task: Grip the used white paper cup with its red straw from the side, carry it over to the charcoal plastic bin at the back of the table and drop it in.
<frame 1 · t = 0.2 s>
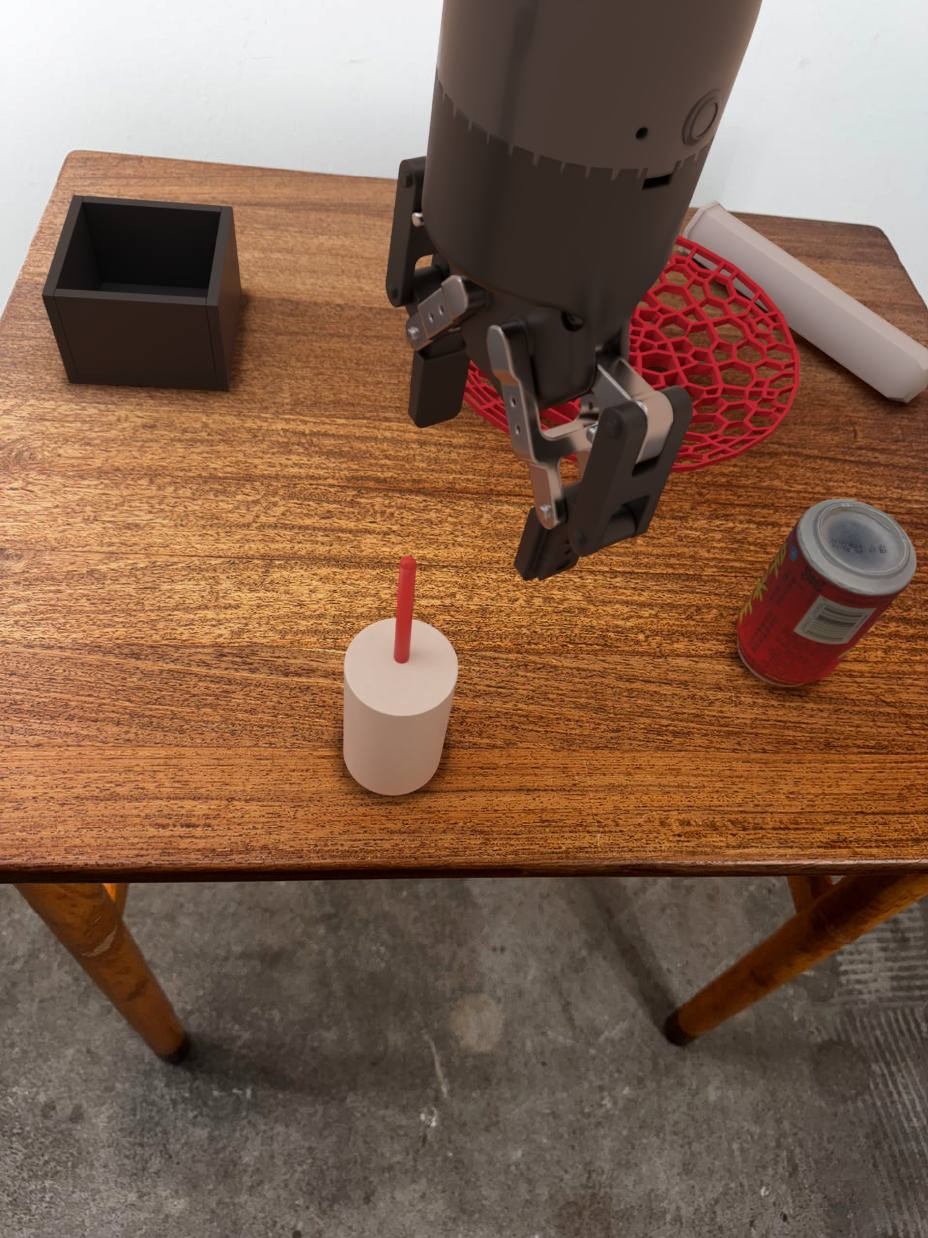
hand: (484, 489, 37), 23 cm above the table, tool pointing down, fingers open, 8 cm apart
tube: (794, 327, 82), on the table
paper cup: (392, 750, 55), on the table
bowl: (598, 378, 76), on the table
soda can: (776, 651, 62), on the table
bin: (160, 335, 72), on the table
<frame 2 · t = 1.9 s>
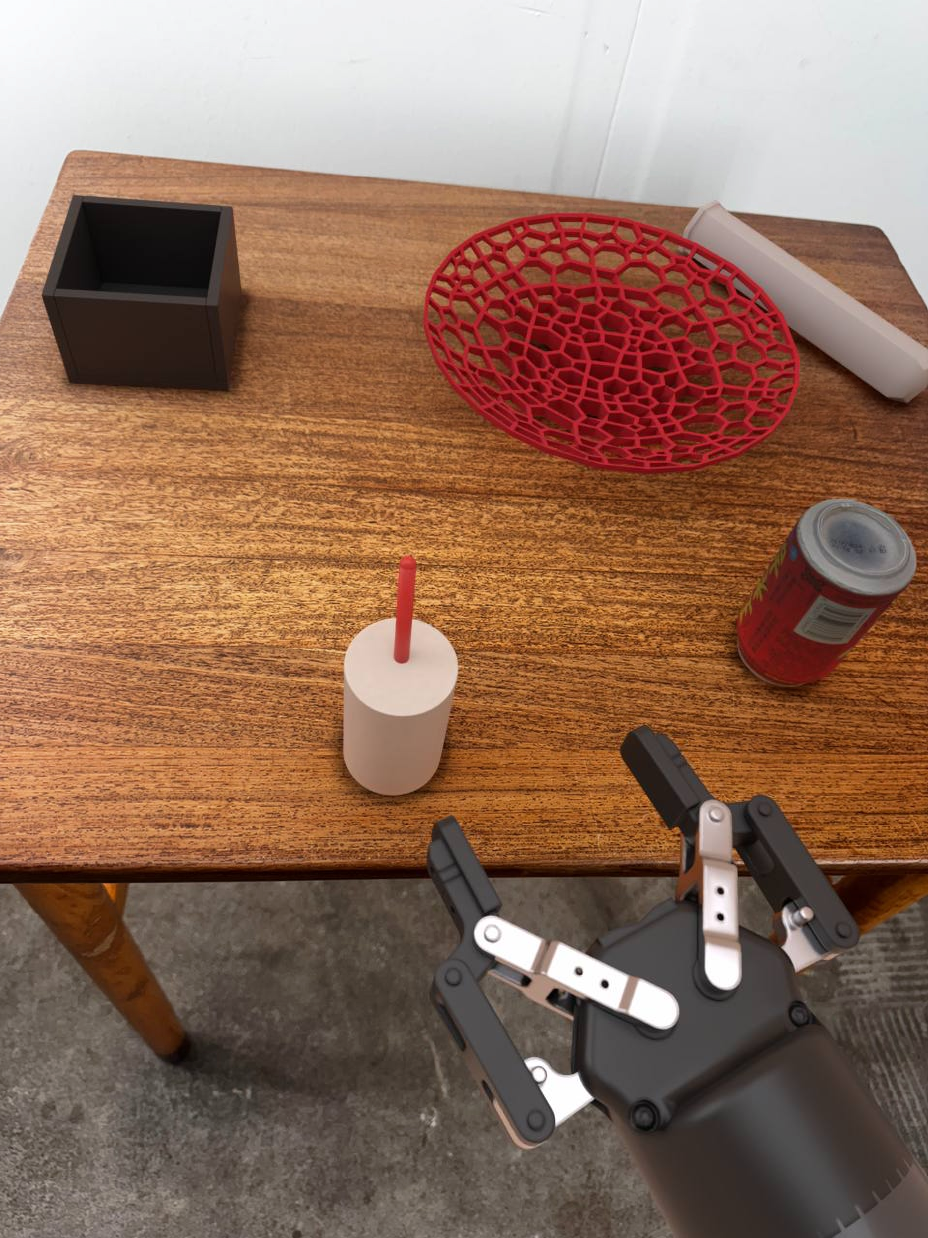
hand: (539, 779, 35), 18 cm above the table, tool horizontal, fingers open, 8 cm apart
nothing on the table moved.
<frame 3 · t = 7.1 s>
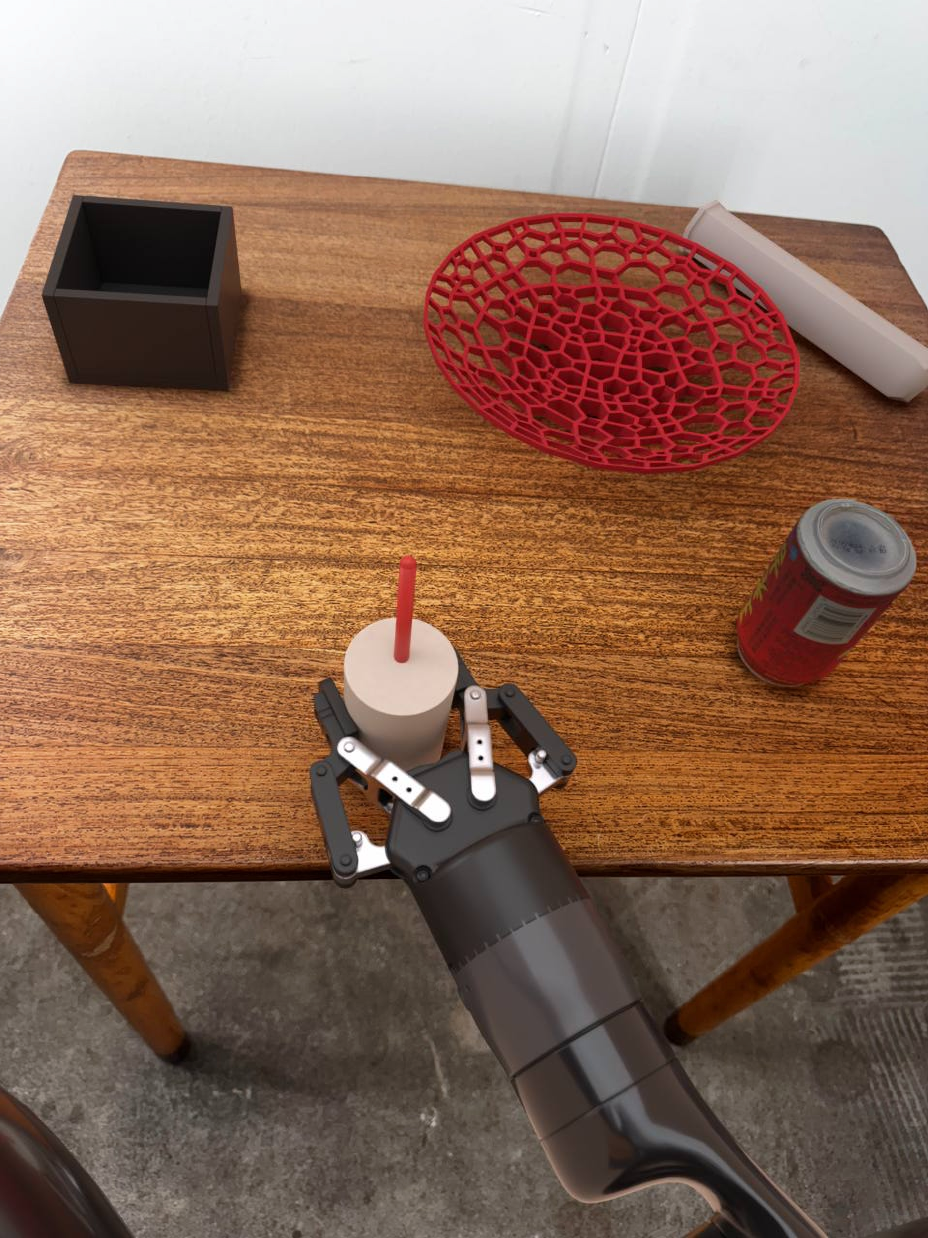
hand: (378, 666, 51), 6 cm above the table, tool horizontal, fingers closed on paper cup, 5 cm apart
paper cup: (392, 749, 55), on the table, touching gripper
everything else where it was.
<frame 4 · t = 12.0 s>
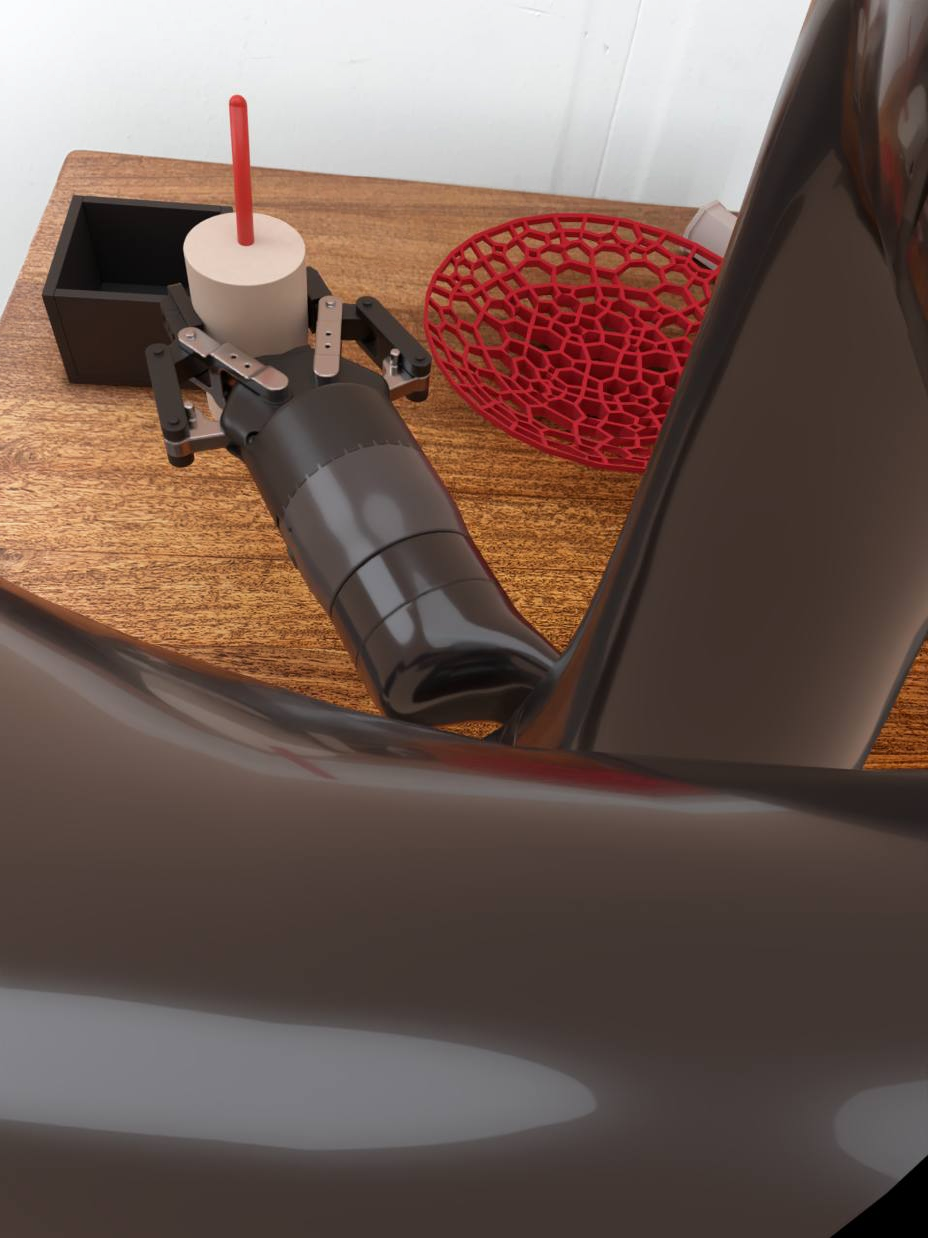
hand: (234, 286, 49), 18 cm above the table, tool horizontal, fingers closed on paper cup, 5 cm apart
paper cup: (260, 400, 53), point 12 cm above the table, touching gripper
everything else where it was.
when the fingers open (13 cm above the table, at t = 16.8 s): paper cup drops 6 cm, resting on bin.
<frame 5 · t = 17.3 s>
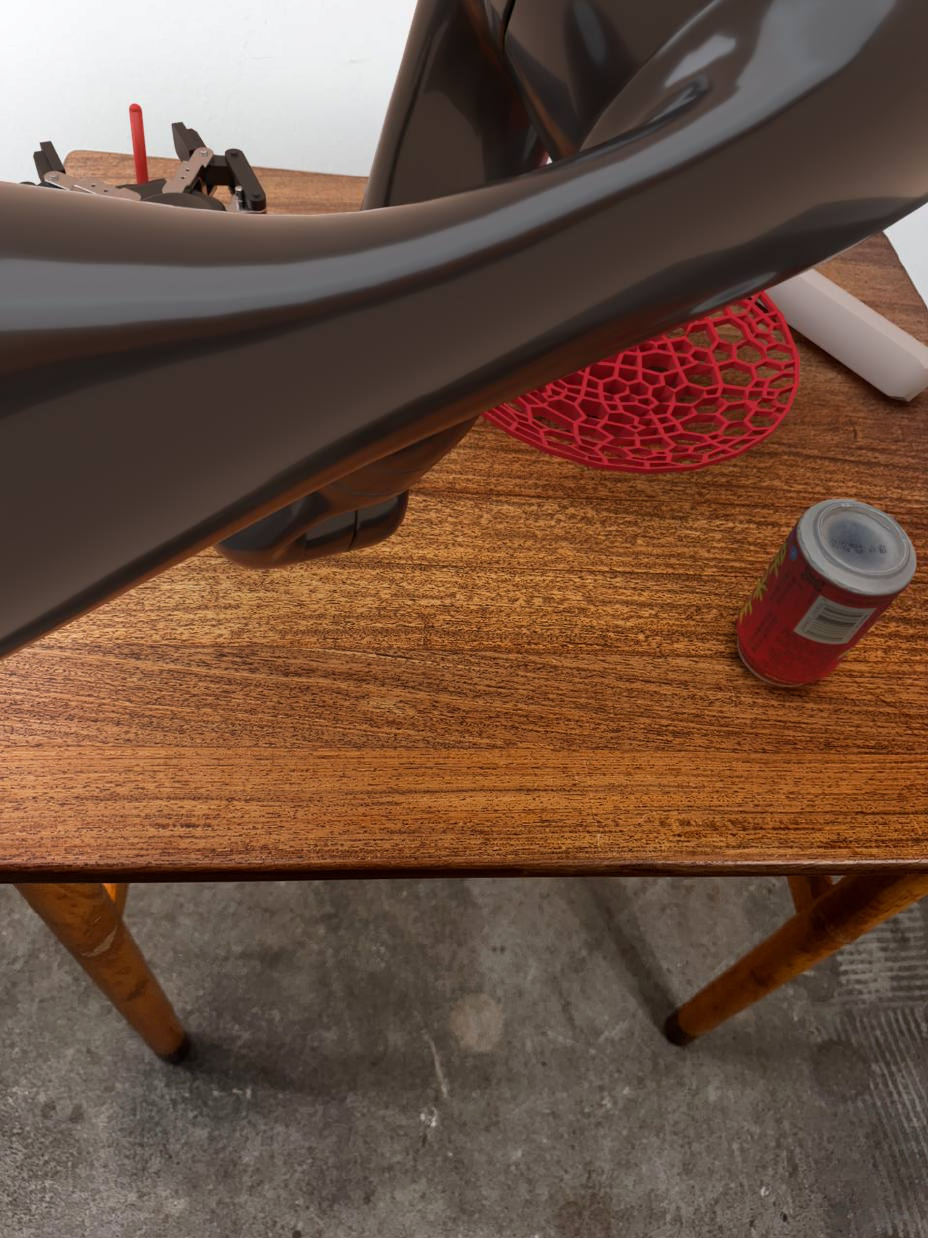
hand: (114, 144, 61), 14 cm above the table, tool horizontal, fingers open, 8 cm apart
paper cup: (162, 325, 72), point 1 cm above the table, touching bin
everything else where it was.
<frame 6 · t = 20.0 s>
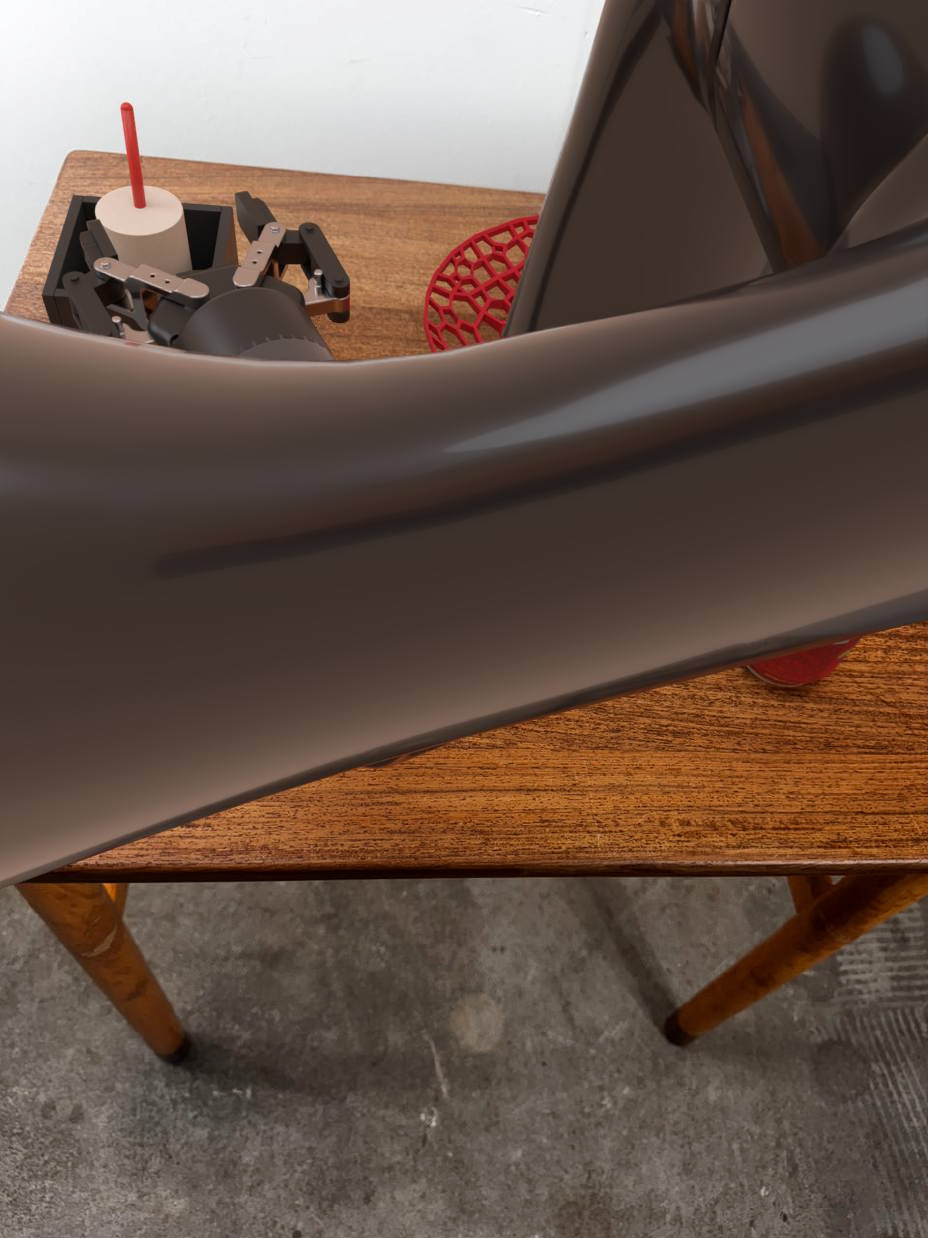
hand: (170, 219, 53), 17 cm above the table, tool horizontal, fingers open, 8 cm apart
nothing on the table moved.
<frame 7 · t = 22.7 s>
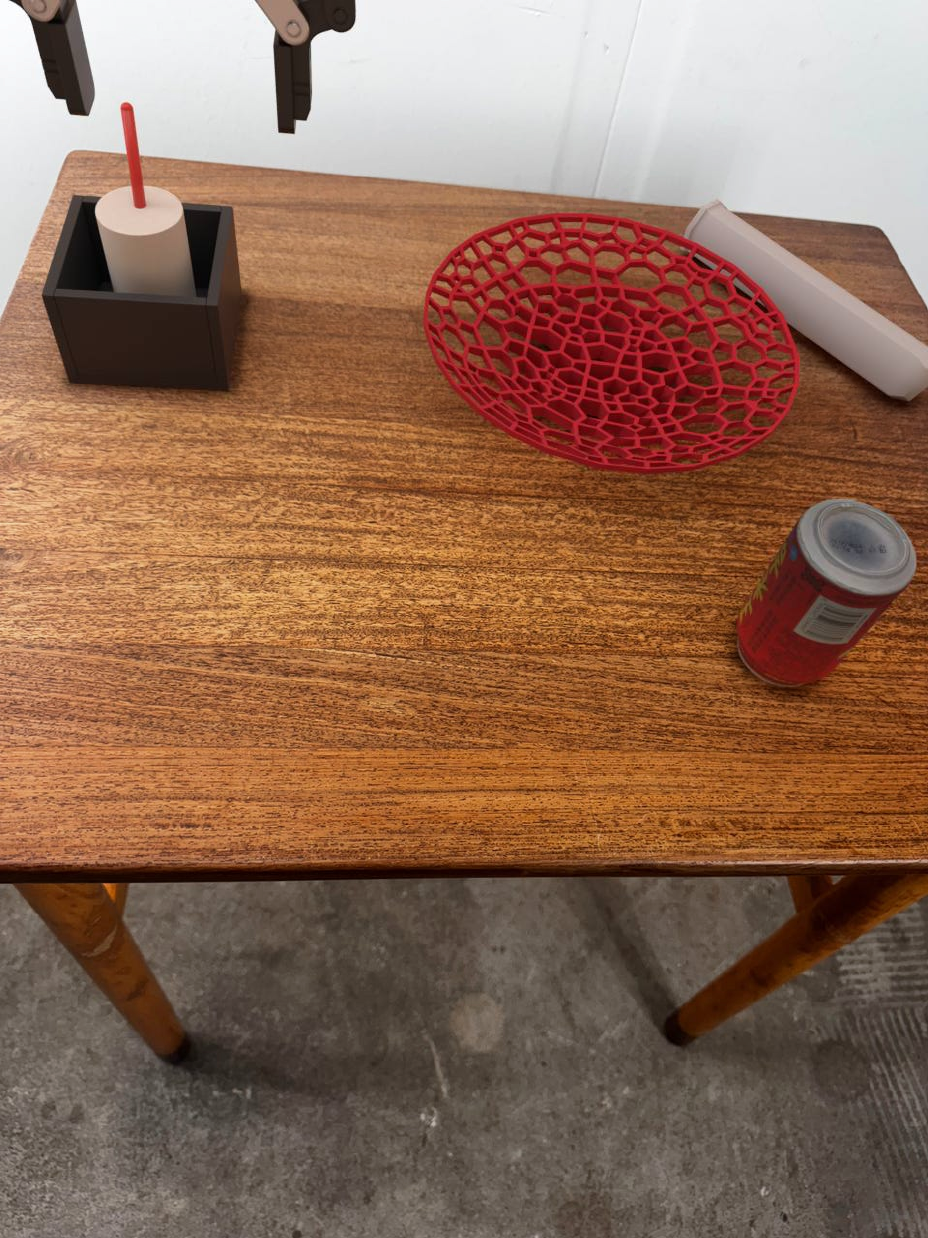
hand: (187, 115, 40), 28 cm above the table, tool pointing down, fingers open, 8 cm apart
nothing on the table moved.
at the end: paper cup inside the target area in the bin (0.3 cm from its centre), point 0.8 cm above the bin's base; the gripper is holding nothing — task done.
